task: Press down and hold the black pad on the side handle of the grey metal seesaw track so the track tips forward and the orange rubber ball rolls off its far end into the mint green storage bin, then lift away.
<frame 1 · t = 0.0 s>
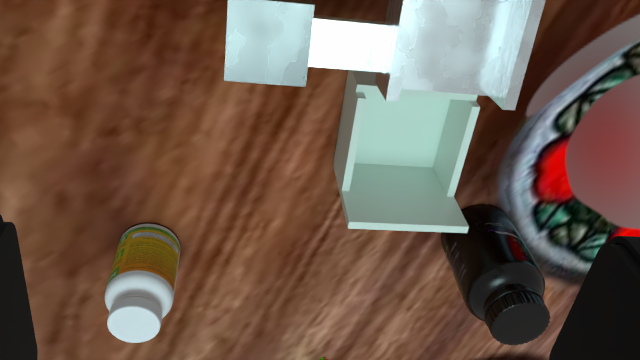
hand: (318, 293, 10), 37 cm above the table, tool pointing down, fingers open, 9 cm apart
mint green storage bin: (395, 120, 50), on the table
supplement bottle: (473, 230, 58), on the table
supplement bottle 2: (150, 244, 55), on the table
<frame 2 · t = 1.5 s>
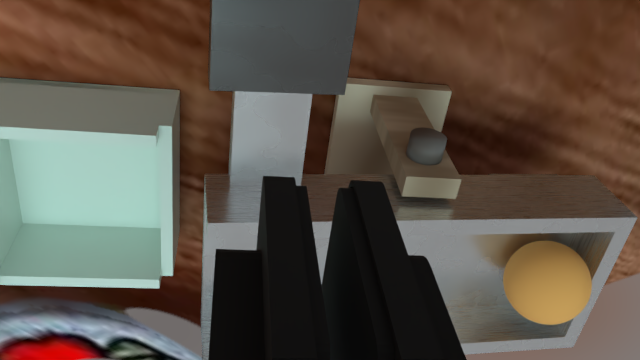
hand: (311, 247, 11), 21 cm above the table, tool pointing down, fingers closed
mint green storage bin: (93, 161, 33), on the table
stand: (374, 175, 36), on the table
ball: (546, 282, 29), point 9 cm above the table, tilted 14°, touching track
track: (422, 170, 27), point 7 cm above the table, hinge at -5.0°, touching ball
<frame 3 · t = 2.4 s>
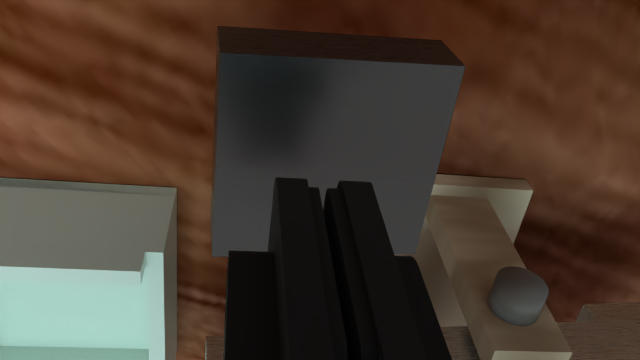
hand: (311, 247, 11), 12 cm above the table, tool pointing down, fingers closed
mint green storage bin: (66, 271, 26), on the table
stand: (425, 285, 28), on the table
track: (510, 326, 19), point 7 cm above the table, hinge at -5.0°, touching ball
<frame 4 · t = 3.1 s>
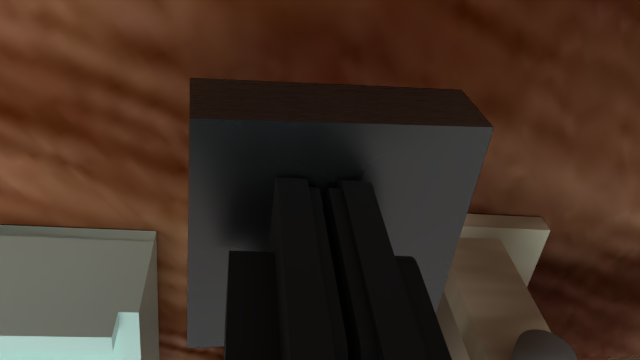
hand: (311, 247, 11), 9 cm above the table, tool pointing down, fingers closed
mint green storage bin: (35, 321, 23), on the table
stand: (430, 328, 26), on the table
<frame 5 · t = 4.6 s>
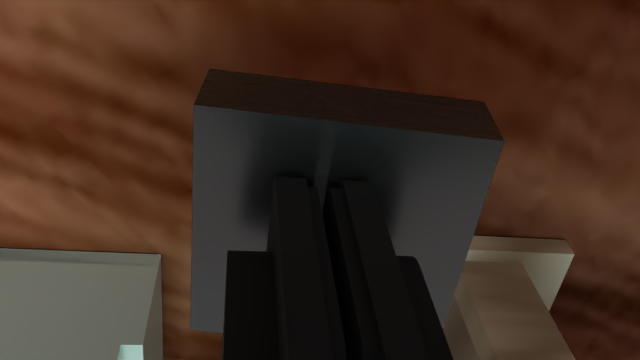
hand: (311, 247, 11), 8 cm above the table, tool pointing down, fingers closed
mint green storage bin: (34, 346, 22), on the table
stand: (446, 353, 25), on the table
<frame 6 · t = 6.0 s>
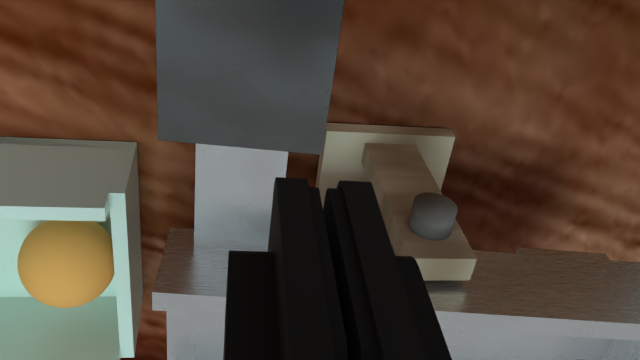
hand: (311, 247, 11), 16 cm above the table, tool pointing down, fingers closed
mint green storage bin: (37, 224, 28), on the table
stand: (366, 229, 31), on the table
ball: (68, 261, 26), point 3 cm above the table, tilted 57°, touching mint green storage bin
track: (427, 243, 23), point 7 cm above the table, hinge at 5.8°
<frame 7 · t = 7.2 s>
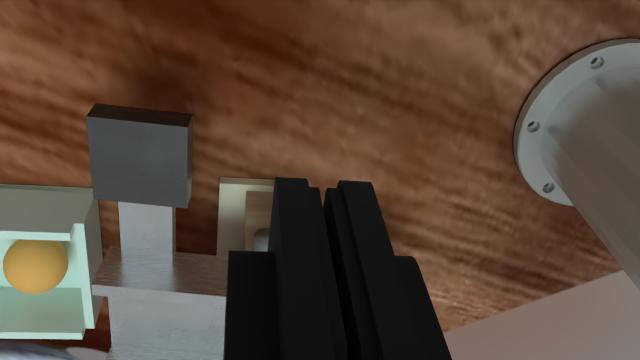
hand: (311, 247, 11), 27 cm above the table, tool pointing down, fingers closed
mint green storage bin: (33, 239, 43), on the table
stand: (257, 246, 45), on the table
ball: (36, 263, 41), point 3 cm above the table, tilted 29°, touching mint green storage bin
track: (265, 259, 37), point 7 cm above the table, hinge at 5.8°
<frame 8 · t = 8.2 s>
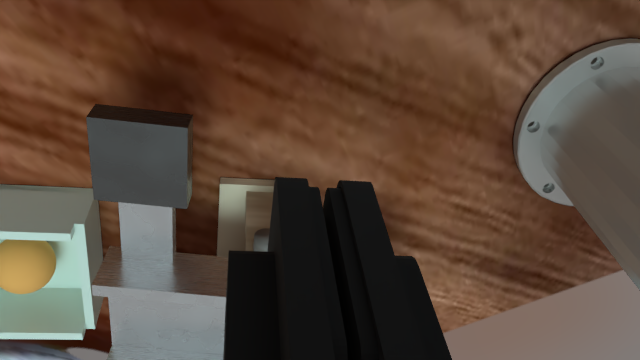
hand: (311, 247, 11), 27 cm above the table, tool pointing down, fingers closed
mint green storage bin: (34, 239, 43), on the table
stand: (258, 247, 45), on the table
ball: (23, 263, 41), point 3 cm above the table, tilted 5°, touching mint green storage bin
track: (265, 259, 37), point 7 cm above the table, hinge at 5.8°
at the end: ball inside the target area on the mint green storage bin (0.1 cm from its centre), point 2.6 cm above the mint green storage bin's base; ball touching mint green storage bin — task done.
